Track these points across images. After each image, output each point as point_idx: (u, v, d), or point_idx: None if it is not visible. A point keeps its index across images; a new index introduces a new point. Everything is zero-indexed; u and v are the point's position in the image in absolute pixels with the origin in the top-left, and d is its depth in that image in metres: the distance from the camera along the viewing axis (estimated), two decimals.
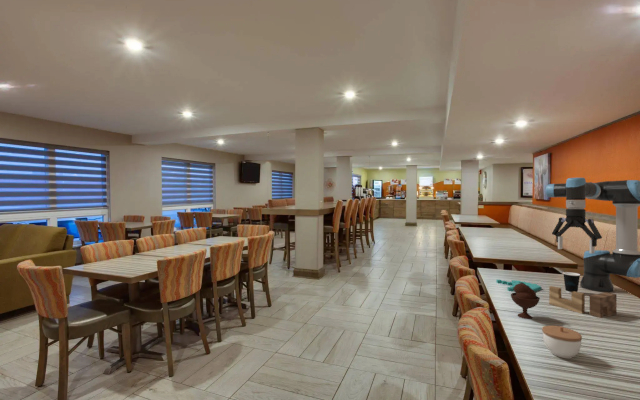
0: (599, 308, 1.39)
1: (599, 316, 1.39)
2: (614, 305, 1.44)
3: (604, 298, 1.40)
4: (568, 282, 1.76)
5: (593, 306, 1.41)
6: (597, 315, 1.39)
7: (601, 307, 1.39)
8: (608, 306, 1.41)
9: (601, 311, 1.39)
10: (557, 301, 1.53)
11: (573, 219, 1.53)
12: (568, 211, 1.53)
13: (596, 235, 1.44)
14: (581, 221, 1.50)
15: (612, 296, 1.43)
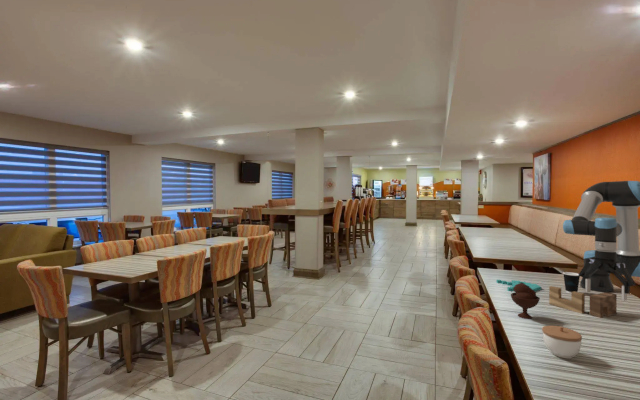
0: (599, 308, 1.39)
1: (599, 316, 1.39)
2: (614, 305, 1.44)
3: (604, 298, 1.40)
4: (568, 282, 1.76)
5: (593, 306, 1.41)
6: (597, 315, 1.39)
7: (601, 307, 1.39)
8: (608, 306, 1.41)
9: (601, 311, 1.39)
10: (557, 301, 1.53)
11: (603, 262, 1.44)
12: (598, 253, 1.44)
13: (629, 282, 1.35)
14: (612, 265, 1.41)
15: (612, 296, 1.43)
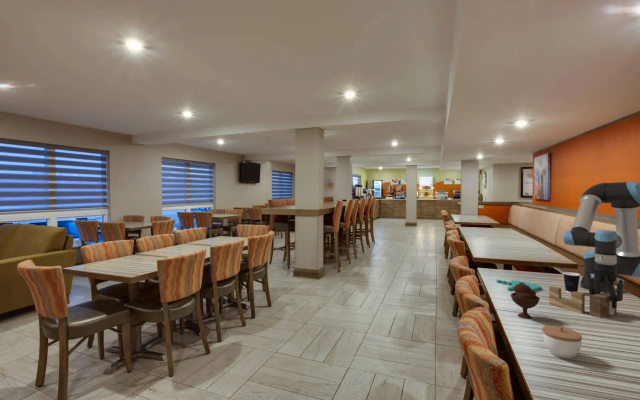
0: (599, 308, 1.39)
1: (599, 316, 1.39)
2: None
3: (604, 298, 1.40)
4: (568, 282, 1.76)
5: (593, 306, 1.41)
6: (597, 315, 1.39)
7: (601, 307, 1.39)
8: (608, 306, 1.41)
9: (601, 311, 1.39)
10: (557, 301, 1.53)
11: (603, 274, 1.44)
12: (598, 266, 1.44)
13: (618, 297, 1.39)
14: (612, 278, 1.41)
15: None
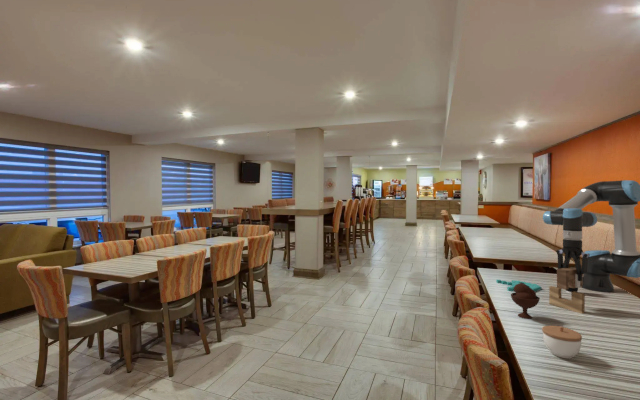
0: (565, 280, 1.48)
1: (565, 288, 1.48)
2: None
3: (570, 271, 1.49)
4: None
5: (560, 279, 1.50)
6: (563, 287, 1.48)
7: (567, 279, 1.48)
8: (574, 279, 1.50)
9: (567, 283, 1.48)
10: (557, 301, 1.53)
11: (570, 250, 1.53)
12: (565, 242, 1.53)
13: (583, 270, 1.48)
14: (578, 252, 1.50)
15: None
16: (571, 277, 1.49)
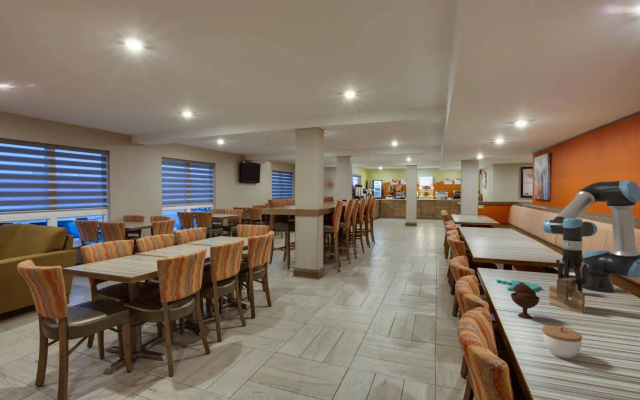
0: (565, 290, 1.48)
1: (565, 298, 1.48)
2: None
3: (570, 281, 1.49)
4: None
5: (560, 289, 1.50)
6: (563, 297, 1.48)
7: (567, 290, 1.48)
8: (574, 289, 1.50)
9: (567, 293, 1.48)
10: (557, 301, 1.53)
11: (570, 260, 1.53)
12: (565, 251, 1.53)
13: (583, 280, 1.48)
14: (578, 262, 1.50)
15: None
16: (571, 287, 1.49)
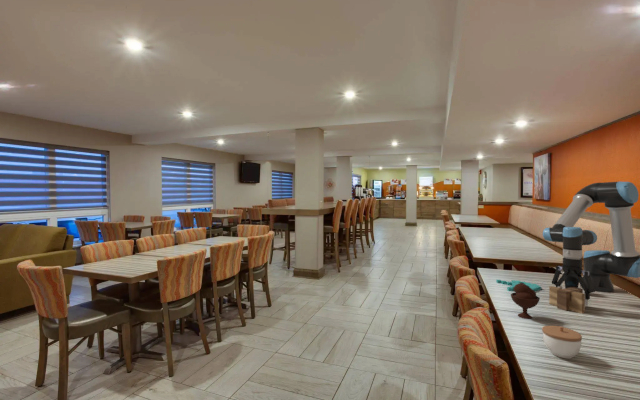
0: (565, 301, 1.48)
1: (565, 309, 1.48)
2: None
3: (570, 292, 1.49)
4: (568, 282, 1.76)
5: (560, 300, 1.50)
6: (563, 308, 1.48)
7: (567, 300, 1.48)
8: None
9: (567, 304, 1.48)
10: None
11: (570, 268, 1.53)
12: (565, 260, 1.53)
13: (590, 289, 1.45)
14: (578, 271, 1.50)
15: (578, 290, 1.52)
16: None
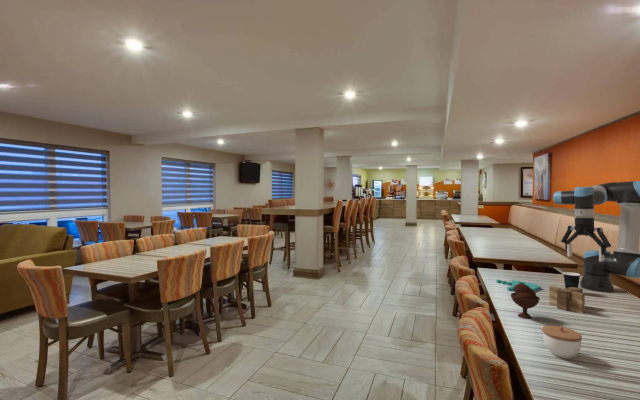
0: (565, 301, 1.48)
1: (565, 309, 1.48)
2: None
3: (570, 292, 1.49)
4: (568, 282, 1.76)
5: (560, 300, 1.50)
6: (563, 308, 1.48)
7: (567, 300, 1.48)
8: None
9: (567, 304, 1.48)
10: None
11: (582, 227, 1.56)
12: (577, 220, 1.56)
13: (605, 244, 1.47)
14: (590, 230, 1.53)
15: (578, 290, 1.52)
16: None
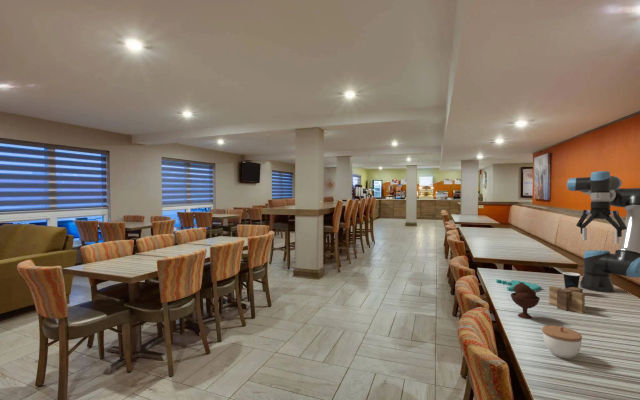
0: (565, 301, 1.48)
1: (565, 309, 1.48)
2: None
3: (570, 292, 1.49)
4: (568, 282, 1.76)
5: (560, 300, 1.50)
6: (563, 308, 1.48)
7: (567, 300, 1.48)
8: None
9: (567, 304, 1.48)
10: None
11: (598, 211, 1.60)
12: (593, 203, 1.59)
13: (621, 226, 1.51)
14: (606, 213, 1.56)
15: (578, 290, 1.52)
16: None
